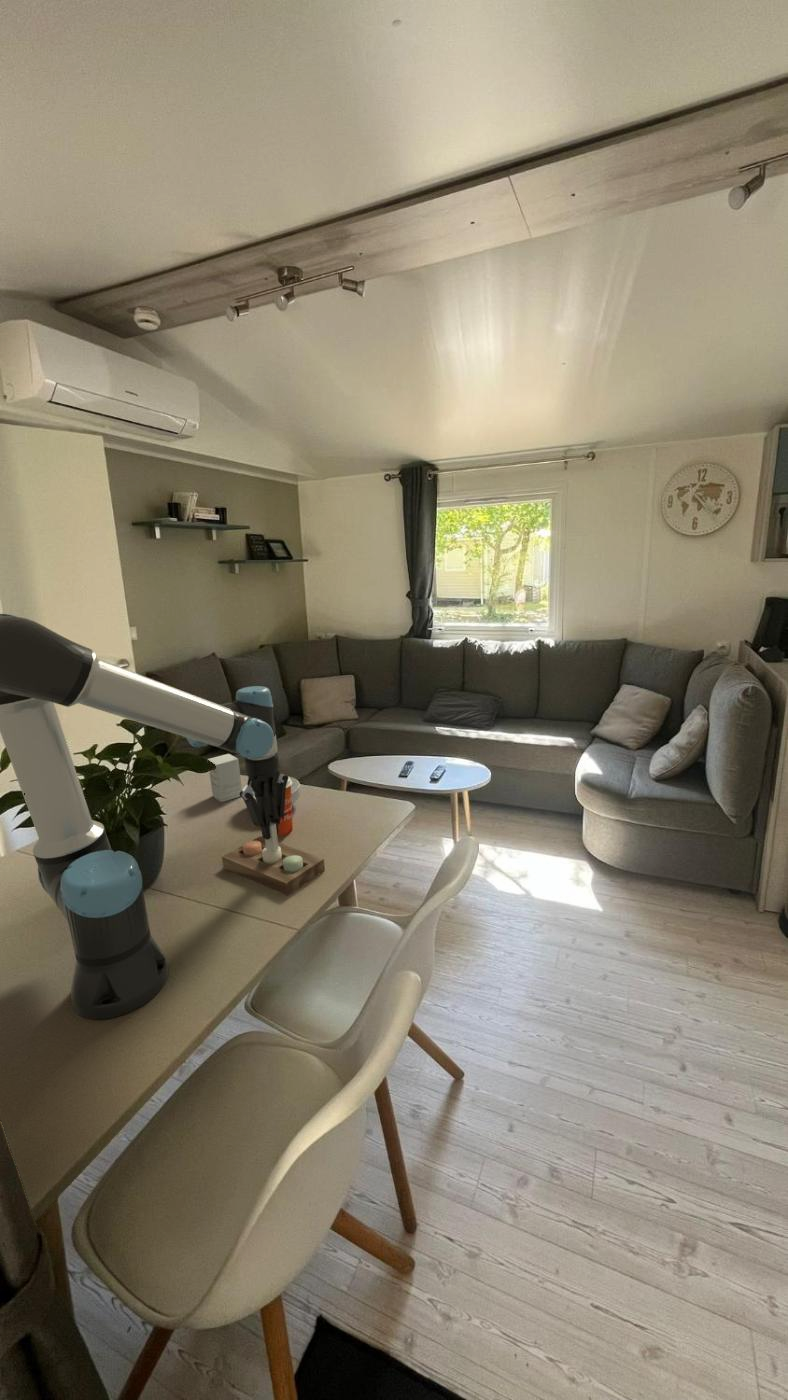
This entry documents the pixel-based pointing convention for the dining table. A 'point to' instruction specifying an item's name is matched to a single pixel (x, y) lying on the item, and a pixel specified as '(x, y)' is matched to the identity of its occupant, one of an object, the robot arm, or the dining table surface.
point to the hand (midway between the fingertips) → (272, 848)
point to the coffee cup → (286, 812)
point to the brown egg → (252, 848)
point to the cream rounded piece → (271, 856)
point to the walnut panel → (274, 868)
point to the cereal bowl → (294, 790)
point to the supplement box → (225, 778)
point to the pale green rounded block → (293, 863)
